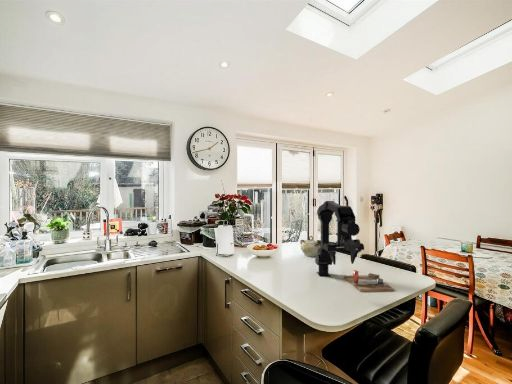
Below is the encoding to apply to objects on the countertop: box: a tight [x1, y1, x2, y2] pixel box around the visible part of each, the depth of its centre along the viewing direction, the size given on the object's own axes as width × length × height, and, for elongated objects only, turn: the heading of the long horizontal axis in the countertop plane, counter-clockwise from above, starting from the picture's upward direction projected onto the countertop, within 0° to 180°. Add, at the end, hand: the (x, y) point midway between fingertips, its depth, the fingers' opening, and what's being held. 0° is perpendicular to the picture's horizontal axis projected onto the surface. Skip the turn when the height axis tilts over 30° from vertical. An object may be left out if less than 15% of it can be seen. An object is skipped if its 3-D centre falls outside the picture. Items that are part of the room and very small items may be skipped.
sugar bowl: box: [299, 235, 321, 257], centre depth 193 cm, size 20×15×15 cm
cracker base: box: [343, 272, 395, 293], centre depth 133 cm, size 20×17×4 cm
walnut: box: [368, 273, 376, 280], centre depth 135 cm, size 4×4×4 cm
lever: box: [352, 270, 384, 284], centre depth 129 cm, size 15×3×6 cm, turn 88°
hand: (343, 264), depth 121 cm, fingers open, 9 cm apart
